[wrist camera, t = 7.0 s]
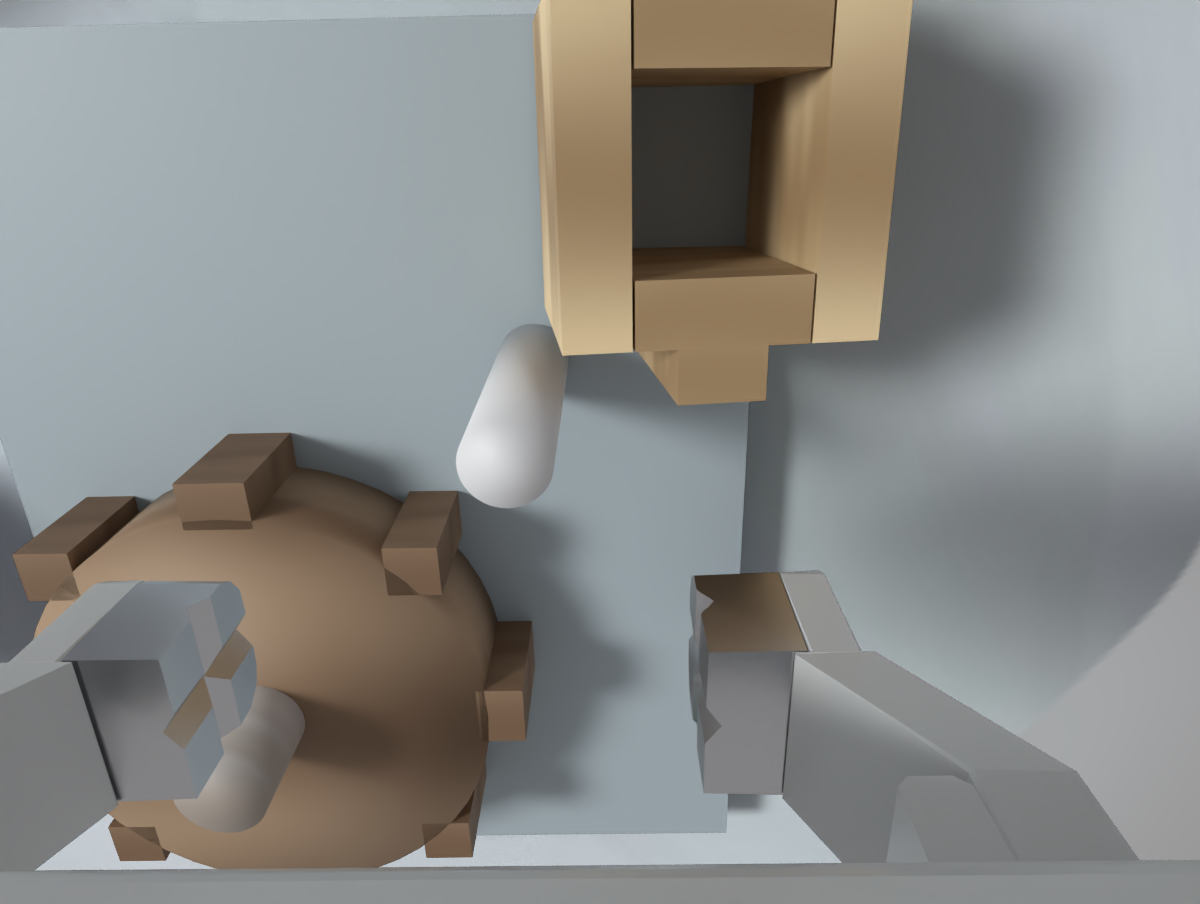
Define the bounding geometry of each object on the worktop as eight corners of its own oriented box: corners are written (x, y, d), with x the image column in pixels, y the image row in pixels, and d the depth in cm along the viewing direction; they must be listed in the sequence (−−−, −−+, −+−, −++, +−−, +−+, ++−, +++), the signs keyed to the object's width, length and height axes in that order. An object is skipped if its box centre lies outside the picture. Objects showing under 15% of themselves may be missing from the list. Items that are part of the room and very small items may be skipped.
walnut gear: (1, 437, 20) (-190, 546, 15) (519, 428, 20) (491, 534, 15) (130, 820, 25) (17, 993, 20) (544, 816, 25) (529, 989, 20)
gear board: (-91, 35, 17) (-517, -4, 11) (759, 14, 17) (855, -39, 11) (155, 807, 26) (2, 1048, 20) (721, 801, 26) (760, 1042, 19)
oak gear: (530, -37, 16) (545, -104, 12) (810, -36, 16) (922, -98, 12) (546, 351, 18) (564, 411, 14) (787, 339, 19) (872, 394, 15)
